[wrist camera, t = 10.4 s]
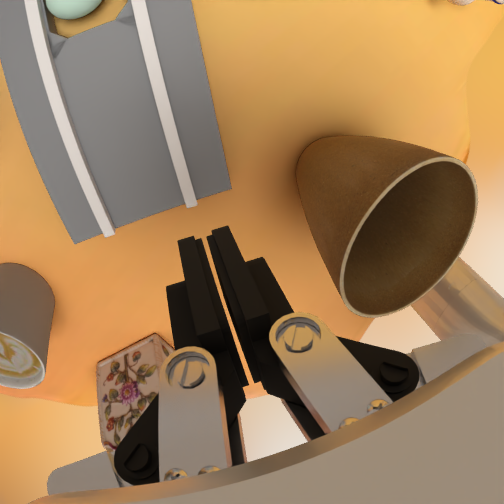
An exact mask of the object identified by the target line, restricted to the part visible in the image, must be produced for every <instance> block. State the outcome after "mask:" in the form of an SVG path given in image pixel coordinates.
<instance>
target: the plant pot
mask: <svg viewBox="0 0 504 504" xmlns="http://www.w3.org/2000/svg"><path fill="white" fill-rule="evenodd" d="M296 179H297V185H298V189H299V194H300V198H301V202H302V206H303V209H304V212H305V216H306V219H307V222H308V224H309V227H310V230H311V233H312V235H313V238H314V240H315V243H316V245H317V248H318V250H319V252H320V254H321V257H322V259H323V261H324V263H325V265H326V267H327V269H328V271H329V273H330V276H331V278H332V280H333V282H334V284H335V286H336V288H337V290H338V292H339V294H340V296H341V298H342V300H343V301H344V303H345V305H346V306H347V308H348V309H349V310H350V311H352V312H353V313H355V314H356V315H359V316H362V317H370V318H374V317H382V316H386V315H389V314H392V313H395V312H397V311H400V310H402V309H404V308H406V307H408V306H409V305H411V304H413V303H414V302H416V301H417V300H418V299H420V298H421V297H422V296H424V295H425V294H426V293H427V292H429V291H430V290H431V289H432V288H433V287H434V286H435V285H436V284H437V283H438V282H439V281H440V280H441V279H442V278H443V277H444V276H445V275H446V273H447V272H448V271H449V270H450V268H451V267H452V266H453V264H454V263H455V261H456V260H457V259H458V257H459V255H460V254H461V252H462V250H463V249H464V247H465V245H466V243H467V241H468V239H469V236H470V234H471V231H472V228H473V225H474V222H475V218H476V213H477V205H478V192H477V185H476V181H475V178H474V176H473V174H472V172H471V171H470V169H469V168H468V167H467V166H466V165H465V164H464V163H463V162H462V161H460V160H458V159H456V158H453V157H451V156H448V155H445V154H442V153H439V152H437V151H434V150H431V149H428V148H424V147H421V146H417V145H414V144H410V143H406V142H401V141H397V140H391V139H385V138H378V137H369V136H334V137H326V138H322V139H319V140H317V141H315V142H313V143H312V144H310V145H309V146H308V147H307V148H306V149H305V150H304V152H303V153H302V154H301V156H300V158H299V160H298V163H297V167H296Z"/></svg>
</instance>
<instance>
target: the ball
mask: <svg viewBox="0 0 504 504" xmlns="http://www.w3.org/2000/svg"><path fill="white" fill-rule="evenodd" d="M101 1H102V0H46V5H47V8H48V10H49V11H50V12H51V13H52V14H53V15H54V16H56V17H58V18H61V19H67V20H69V19H77V18H80V17H83V16H85V15H87V14H89V13H90V12H92V11H93V10H94V9H95V8H96V7H97V6H98V5H99V4H100V3H101Z"/></svg>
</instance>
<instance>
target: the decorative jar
mask: <svg viewBox="0 0 504 504" xmlns="http://www.w3.org/2000/svg"><path fill="white" fill-rule="evenodd" d="M174 351H175V350H174V349H173V348H172V347H171V346H169V345H168V344H167V343H166V342H165V341H164V340H163V339H162V338H160V337H159V336H158V335H157V334H153V335H151V336H149V337H147V338H146V339H143V340H141V341H139V342H137V343H135V344H133V345H131V346H129V347H127V348H126V349H124V350H122V351H120V352H118V353H116V354H114V355H113V356H110V357H108V358H107V359H105V360H103V361H100V362H99V363H98V364H97V399H98V414H99V424H100V433H101V442H102V445H103V447H104V448H105V449H106V450H107V451H108V452H109V453H110V452H112V451H115V450H116V448H117V447H118V445H119V443H120V442H121V441H122V439H123V438H124V437H125V436H126V434H127V433H128V432H129V430H130V429H131V428H132V426H133V425H134V424H135V423H136V421H137V420H138V419H139V417H140V416H141V415H142V413H143V412H144V411H145V410H146V408H147V407H148V406H149V404H150V403H151V402H152V400H153V399H154V398H155V396H156V395H157V394H158V392H159V373H160V369H161V365H162V364H163V362H164V360H165V359H166V358H167V357H168V356H169V355H170V354H171V353H173V352H174Z"/></svg>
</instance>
